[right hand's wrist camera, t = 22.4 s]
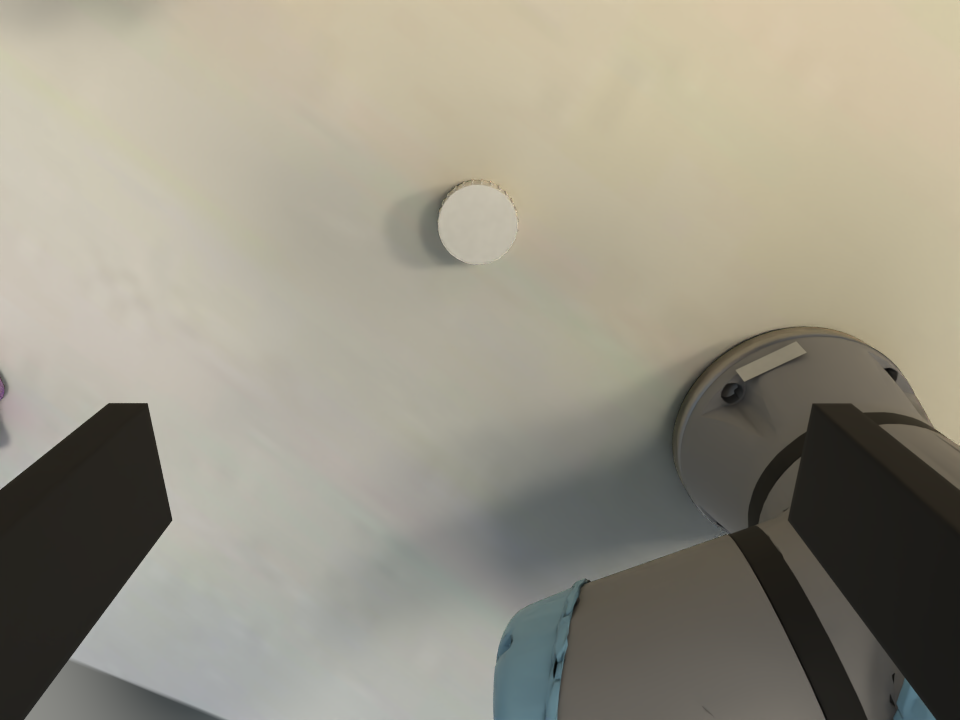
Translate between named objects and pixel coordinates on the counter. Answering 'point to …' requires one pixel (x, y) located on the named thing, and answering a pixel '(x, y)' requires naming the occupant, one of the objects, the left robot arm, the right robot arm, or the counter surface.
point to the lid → (477, 222)
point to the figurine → (1, 389)
